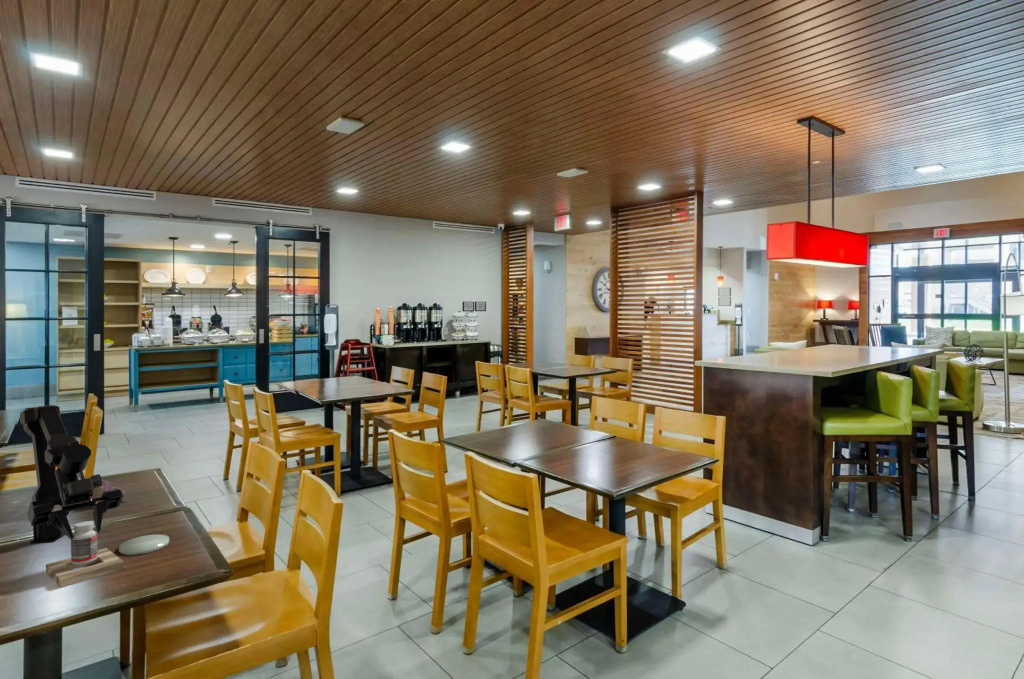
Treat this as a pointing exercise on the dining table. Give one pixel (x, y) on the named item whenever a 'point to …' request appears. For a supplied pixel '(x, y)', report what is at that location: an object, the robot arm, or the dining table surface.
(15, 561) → the dining table surface
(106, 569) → the socket block
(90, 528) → the pill bottle
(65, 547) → the dining table surface
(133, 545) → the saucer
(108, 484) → the lily
